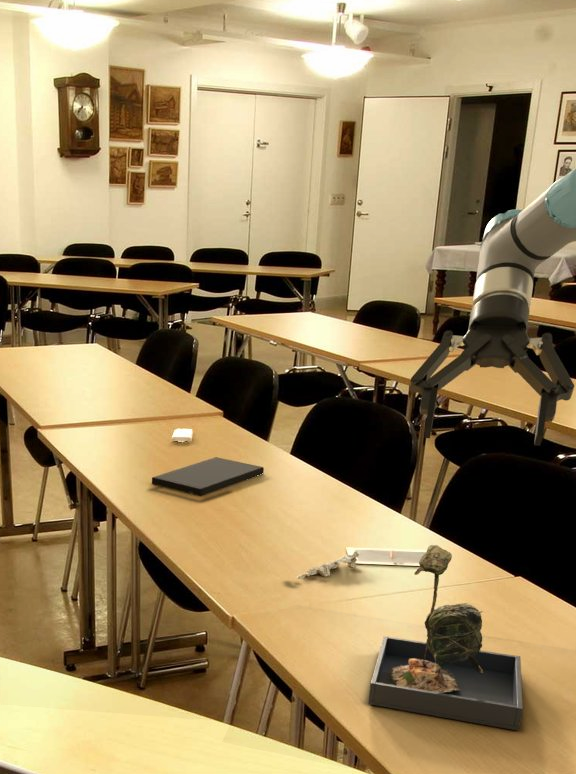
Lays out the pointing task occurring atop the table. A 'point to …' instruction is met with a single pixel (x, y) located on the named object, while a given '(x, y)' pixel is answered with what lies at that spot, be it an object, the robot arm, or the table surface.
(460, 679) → the tray
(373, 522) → the table surface
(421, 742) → the table surface
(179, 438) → the white flat block
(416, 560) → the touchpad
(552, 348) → the robot arm
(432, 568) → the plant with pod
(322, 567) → the lizard figurine
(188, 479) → the dark grey flat slab
